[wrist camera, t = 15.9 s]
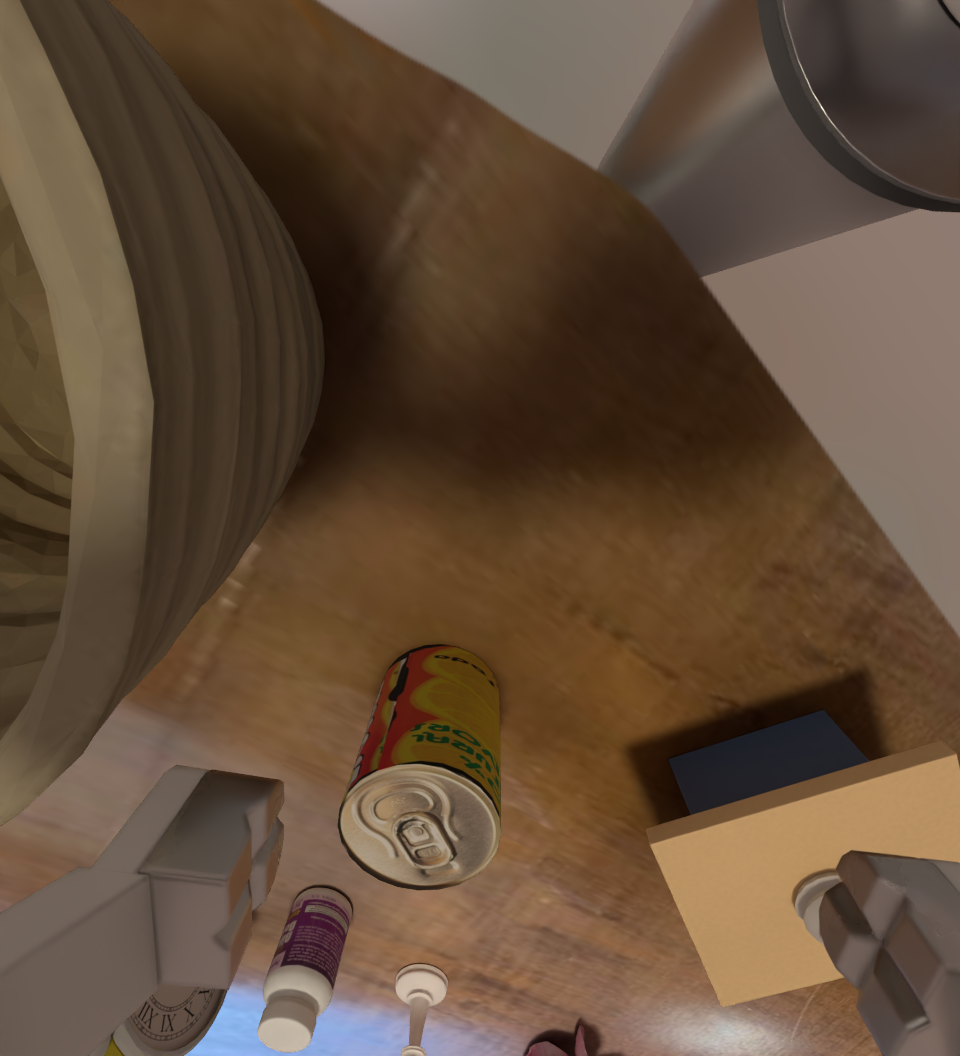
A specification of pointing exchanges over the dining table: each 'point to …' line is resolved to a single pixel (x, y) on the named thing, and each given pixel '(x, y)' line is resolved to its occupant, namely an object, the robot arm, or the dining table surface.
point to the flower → (546, 1052)
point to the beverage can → (427, 773)
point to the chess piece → (419, 999)
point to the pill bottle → (304, 969)
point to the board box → (791, 841)
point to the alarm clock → (165, 1023)
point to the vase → (126, 372)
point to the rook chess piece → (814, 900)
